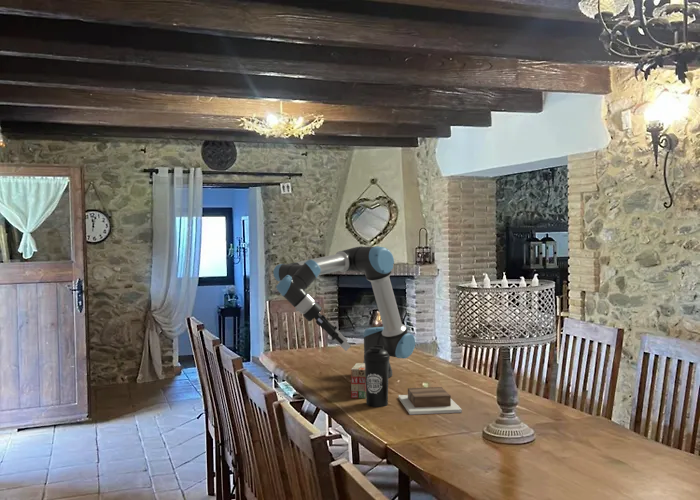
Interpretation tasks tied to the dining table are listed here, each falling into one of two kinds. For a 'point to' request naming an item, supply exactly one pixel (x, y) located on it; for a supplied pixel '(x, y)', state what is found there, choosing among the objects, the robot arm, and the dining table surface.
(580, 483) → the dining table surface
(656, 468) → the dining table surface
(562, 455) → the dining table surface
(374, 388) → the water bottle
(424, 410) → the base board
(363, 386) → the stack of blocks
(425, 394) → the plinth
